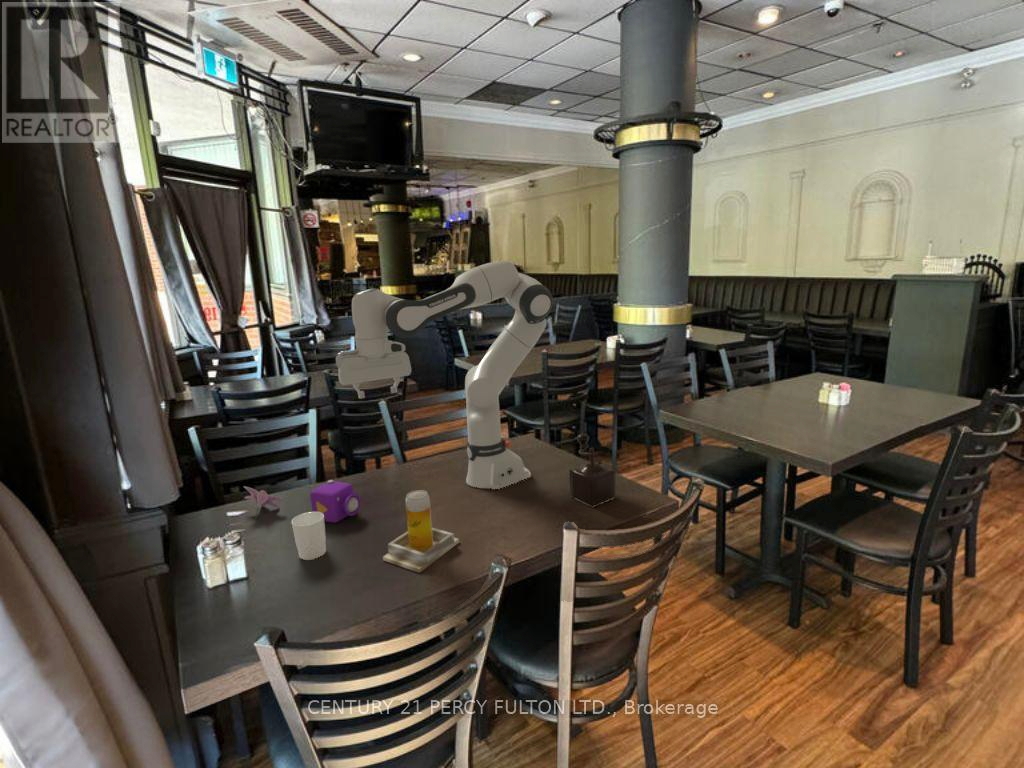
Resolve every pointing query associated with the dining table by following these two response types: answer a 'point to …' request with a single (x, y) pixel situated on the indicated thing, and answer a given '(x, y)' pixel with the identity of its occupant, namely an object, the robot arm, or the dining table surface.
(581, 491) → the pepper mill
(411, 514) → the glass of beer
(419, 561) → the socket board
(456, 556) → the dining table surface
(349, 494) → the toy camera
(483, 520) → the dining table surface
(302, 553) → the white cup
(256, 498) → the lily
